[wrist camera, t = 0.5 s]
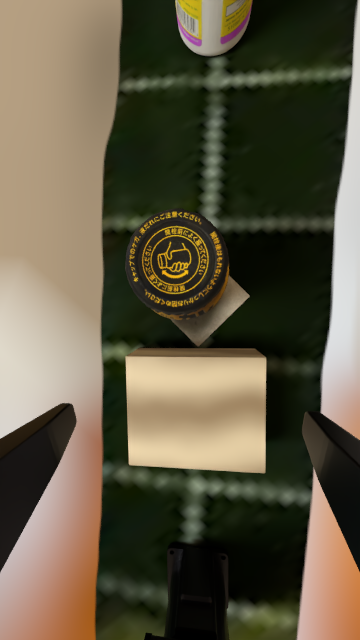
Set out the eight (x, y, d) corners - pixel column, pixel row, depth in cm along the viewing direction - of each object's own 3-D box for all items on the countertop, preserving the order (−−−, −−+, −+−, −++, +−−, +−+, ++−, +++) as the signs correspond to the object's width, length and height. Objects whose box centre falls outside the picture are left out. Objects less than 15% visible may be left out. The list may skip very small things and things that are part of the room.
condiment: (189, 237, 22) (174, 156, 10) (249, 296, 22) (306, 283, 10) (140, 289, 23) (74, 270, 11) (198, 346, 23) (193, 390, 11)
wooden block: (254, 444, 23) (265, 473, 19) (141, 438, 24) (128, 465, 20) (254, 348, 22) (266, 357, 18) (138, 348, 23) (125, 356, 19)
